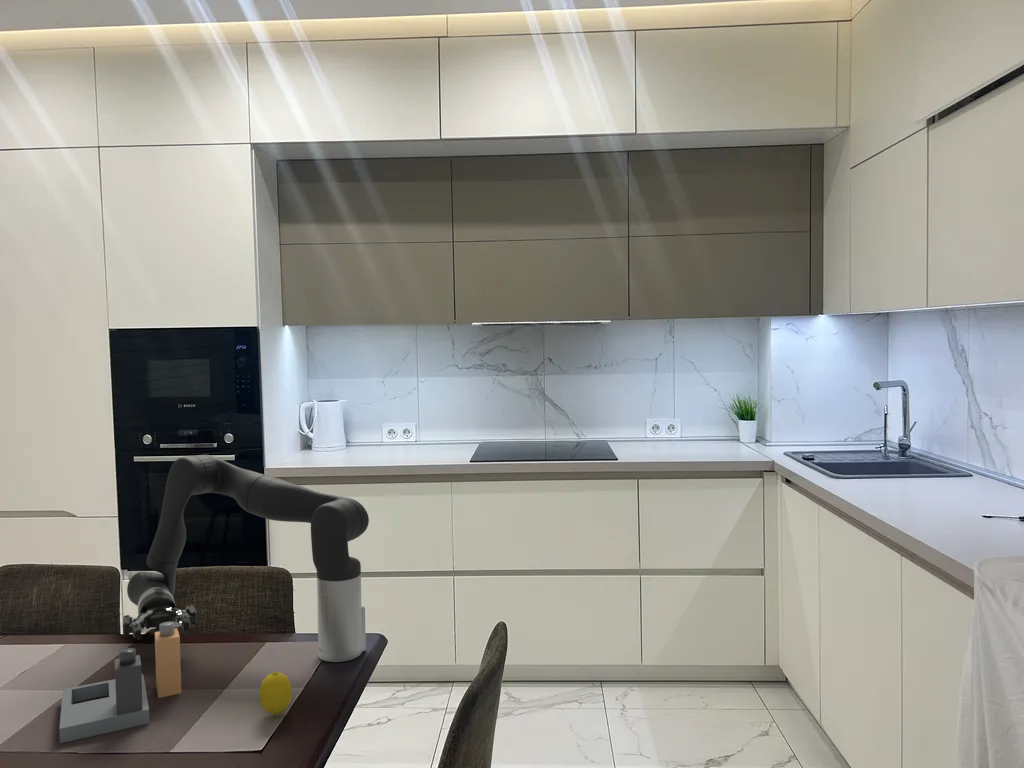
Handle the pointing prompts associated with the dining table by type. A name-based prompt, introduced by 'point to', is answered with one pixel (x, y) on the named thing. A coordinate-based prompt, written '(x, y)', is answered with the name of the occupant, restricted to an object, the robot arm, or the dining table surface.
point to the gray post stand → (106, 702)
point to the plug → (167, 660)
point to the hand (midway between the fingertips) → (162, 631)
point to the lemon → (275, 693)
